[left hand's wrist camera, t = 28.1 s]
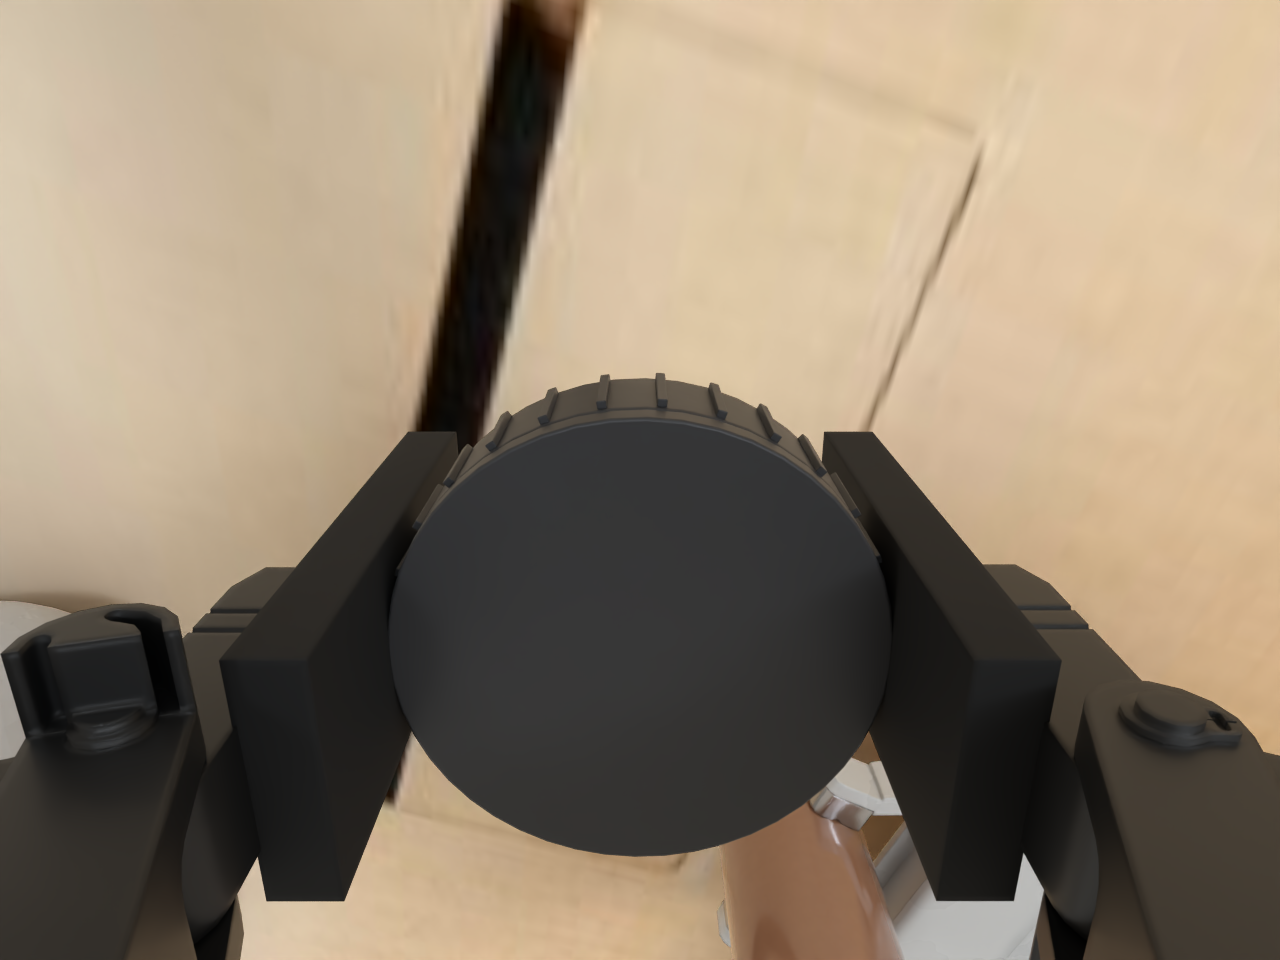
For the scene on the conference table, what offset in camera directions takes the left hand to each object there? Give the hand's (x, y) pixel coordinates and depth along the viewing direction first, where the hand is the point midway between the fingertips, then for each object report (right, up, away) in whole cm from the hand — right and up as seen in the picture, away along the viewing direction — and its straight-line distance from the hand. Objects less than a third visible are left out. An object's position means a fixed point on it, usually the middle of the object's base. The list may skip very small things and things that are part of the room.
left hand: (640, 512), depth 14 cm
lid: (0, -1, -4) cm, 4 cm away
